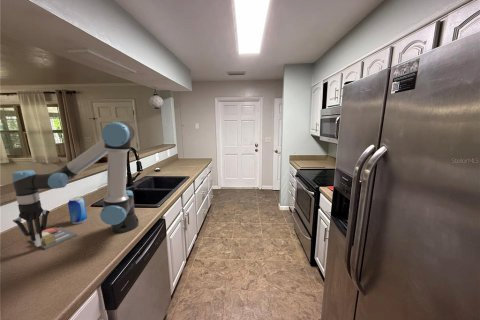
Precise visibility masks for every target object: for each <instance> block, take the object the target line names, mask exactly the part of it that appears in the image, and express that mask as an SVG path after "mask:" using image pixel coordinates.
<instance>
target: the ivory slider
mask: <svg viewBox="0 0 480 320" xmlns="http://www.w3.org/2000/svg"><path fill="white" fill-rule="evenodd" d="M49 234H50V233H48V232H44V233H42V237H44V236H47V235H49ZM40 241H41V243H42V239H40Z"/></svg>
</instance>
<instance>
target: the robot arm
mask: <svg viewBox="0 0 480 320" xmlns="http://www.w3.org/2000/svg"><path fill="white" fill-rule="evenodd" d="M100 136H101V140H99V141H98V142H97V143H95V144H94V145H92V146H91V147H89V148H88V149H87V150H85V151H84V152H82V153H81V154H79V155H78V156H77V157H76V158H74V159H72V160H71V161H70V162H68V163H66V164H65V165H63V166H62V167H61V168H59V169H57V170H54V171H51V172H49V173H38V174H37V173H36V172H35V170H33V169H25V170H19V171H14V172H12V174H11V178H12V184H13V187H14V191H15V195H16V196H15V197H16V202H17V204H18V205H17V207H18V212H19V214H18V217H17V218H15V219H12V222H13V223H14V224H16V225H17V227H18V228H19V230H20V231H21V232H22V234H23V235H24V236H25V237H29V236H30V238H31V241H34V243H35V244H34V243H33V244H34V246H35V247H37V248H38V247H40V246H41V241H40V239H41V238H42V231H43V230H45V229H47V225H48V216H49V215H50V210H48V209H44V208H42V204H41V202H42V201H41V200H40V198H41V197H40V193H39V190H53V189H55V190H56V189H63V188H65V187H67V185H68V183H69V181H72V180H73V179H75V178H77V177H76V176H78V175H79V174H81V173H82V172H83V171H85V170H86V169H87V168H89V167H90V166H92V165H94V164H95V163H97V161H99V160H101V159H102V158H103V157H105V156H106V155H107V175H106V176H107V177H106V178H107V180H106V182H107V184H106V195H105V196H104V197H103V201H102V202H103V204H102V206H103V207H102V209H101V210H100V213H99V216H100V219H101V221H102V222H103V223H105V224H107V225H110V230H111V232H113V233H117V234H118V233H119V234H120V233H125V232H130V231H132V230H134V229H136V228H137V227H138V226H139V225H140V222H139V221H140V220H139V219H138V216H137V214H136V211H135V200H134V193H133V191H132V190H129V189H127V187H126V186H127V168H128V166H127V164H128V161H127V160H128V152H129V151H130V150H131V148H132V146H131V143H132V140H133V139H134V138H135V129H134V128H133V126H132V125H131V124H130V123H127V122H125V121H120V122H119V121H113V122H109V123H107V124H106V125H104V126H103V128H102V129H101V133H100ZM40 217H41V220H40ZM22 220H24V221H25V222H26V225H27V227H26V226H25V225H24V223H22ZM40 221H41V222H40ZM34 227H35V228H34ZM27 229H28V230H27ZM35 231H36V232H35ZM30 238H29V239H30ZM31 241H30V242H31Z"/></svg>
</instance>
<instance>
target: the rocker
mask: <svg viewBox="0 0 480 320" xmlns="http://www.w3.org/2000/svg"><path fill="white" fill-rule="evenodd" d="M57 228H58V227H51V228H46V229H45V230H43V231H42V233H44V232H48V233H53V232H58V231H59V229H57Z"/></svg>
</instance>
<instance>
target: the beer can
mask: <svg viewBox="0 0 480 320" xmlns="http://www.w3.org/2000/svg"><path fill="white" fill-rule="evenodd" d="M67 205H68V213H69V214H68V215H69V220H70V223H71V224H73V225H78V224H79V225H80V224H82V223H85V222H86V221H87V219H88V215H87V208H86V201H85V199H84V198H83V197H82V196H75V197H71V198H69V200H68V202H67Z"/></svg>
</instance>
